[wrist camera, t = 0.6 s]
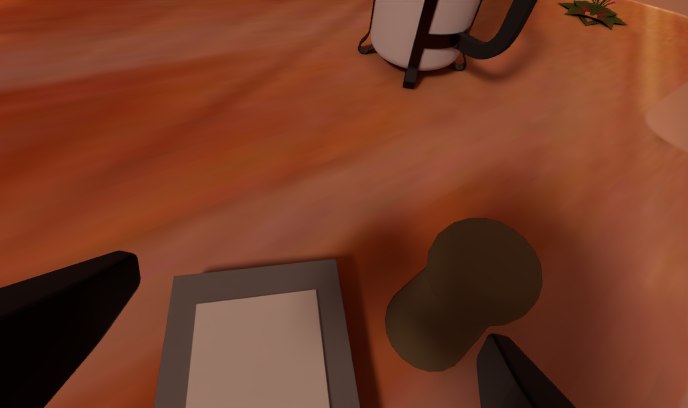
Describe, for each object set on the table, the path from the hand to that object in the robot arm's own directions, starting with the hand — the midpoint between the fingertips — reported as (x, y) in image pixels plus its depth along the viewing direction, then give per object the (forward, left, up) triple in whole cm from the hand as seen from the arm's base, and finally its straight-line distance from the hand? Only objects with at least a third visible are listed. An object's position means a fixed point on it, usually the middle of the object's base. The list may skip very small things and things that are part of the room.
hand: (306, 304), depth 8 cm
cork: (+3, -9, -15) cm, 18 cm away
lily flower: (+53, -58, -16) cm, 80 cm away
